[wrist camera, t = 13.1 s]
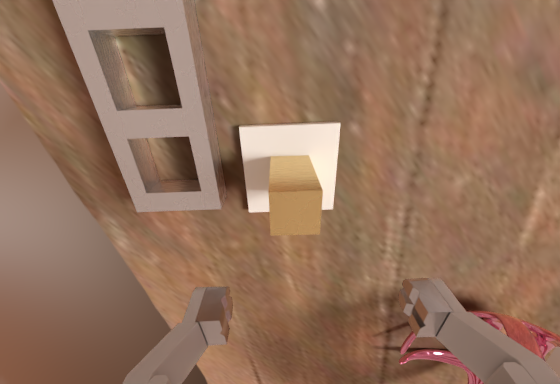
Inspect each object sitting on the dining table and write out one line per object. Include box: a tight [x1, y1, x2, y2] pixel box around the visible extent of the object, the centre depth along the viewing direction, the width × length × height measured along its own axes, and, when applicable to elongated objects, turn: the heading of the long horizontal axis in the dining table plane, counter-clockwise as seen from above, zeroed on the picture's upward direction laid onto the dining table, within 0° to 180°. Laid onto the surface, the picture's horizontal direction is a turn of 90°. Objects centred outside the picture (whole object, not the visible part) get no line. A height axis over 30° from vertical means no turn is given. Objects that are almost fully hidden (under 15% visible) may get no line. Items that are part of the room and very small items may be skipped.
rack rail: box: [52, 0, 227, 212], centre depth 19 cm, size 26×9×3 cm, turn 2°
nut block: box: [268, 155, 323, 235], centre depth 21 cm, size 4×4×8 cm
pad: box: [239, 122, 341, 212], centre depth 25 cm, size 10×10×1 cm
